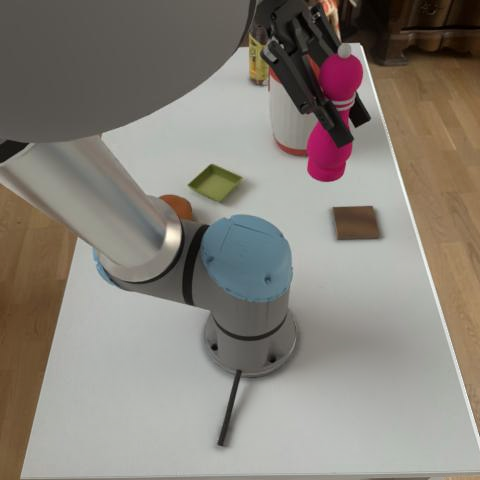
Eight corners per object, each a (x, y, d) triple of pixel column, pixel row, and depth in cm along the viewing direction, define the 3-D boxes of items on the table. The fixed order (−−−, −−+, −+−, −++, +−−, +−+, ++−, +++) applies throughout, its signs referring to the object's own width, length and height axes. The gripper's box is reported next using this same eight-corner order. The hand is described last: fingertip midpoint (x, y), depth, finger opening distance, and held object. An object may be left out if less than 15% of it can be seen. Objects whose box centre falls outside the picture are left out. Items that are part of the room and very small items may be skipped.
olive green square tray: (212, 170, 98) (211, 162, 96) (244, 184, 95) (243, 177, 93) (187, 193, 94) (186, 185, 93) (220, 208, 92) (219, 201, 90)
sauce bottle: (248, 74, 119) (246, -12, 102) (271, 72, 119) (273, -15, 102) (251, 88, 115) (249, 0, 98) (274, 85, 115) (277, -2, 98)
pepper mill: (327, 150, 77) (346, 24, 60) (356, 172, 74) (386, 45, 57) (295, 167, 75) (306, 42, 58) (324, 190, 72) (344, 65, 55)
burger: (200, 234, 88) (197, 216, 84) (154, 246, 87) (149, 230, 83) (187, 202, 93) (184, 184, 89) (144, 213, 92) (139, 196, 88)
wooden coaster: (378, 238, 86) (379, 234, 85) (337, 239, 86) (337, 236, 85) (371, 209, 90) (372, 205, 89) (332, 210, 90) (332, 206, 89)
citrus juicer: (278, 112, 109) (281, 23, 92) (345, 131, 104) (361, 40, 87) (248, 149, 102) (246, 59, 85) (319, 170, 97) (332, 80, 80)
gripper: (240, -12, 50) (346, 158, 59) (316, -66, 58) (400, 91, 67) (207, 28, 57) (308, 176, 65) (280, -26, 64) (361, 113, 73)
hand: (354, 133), depth 66 cm, fingers closed on pepper mill, 5 cm apart
